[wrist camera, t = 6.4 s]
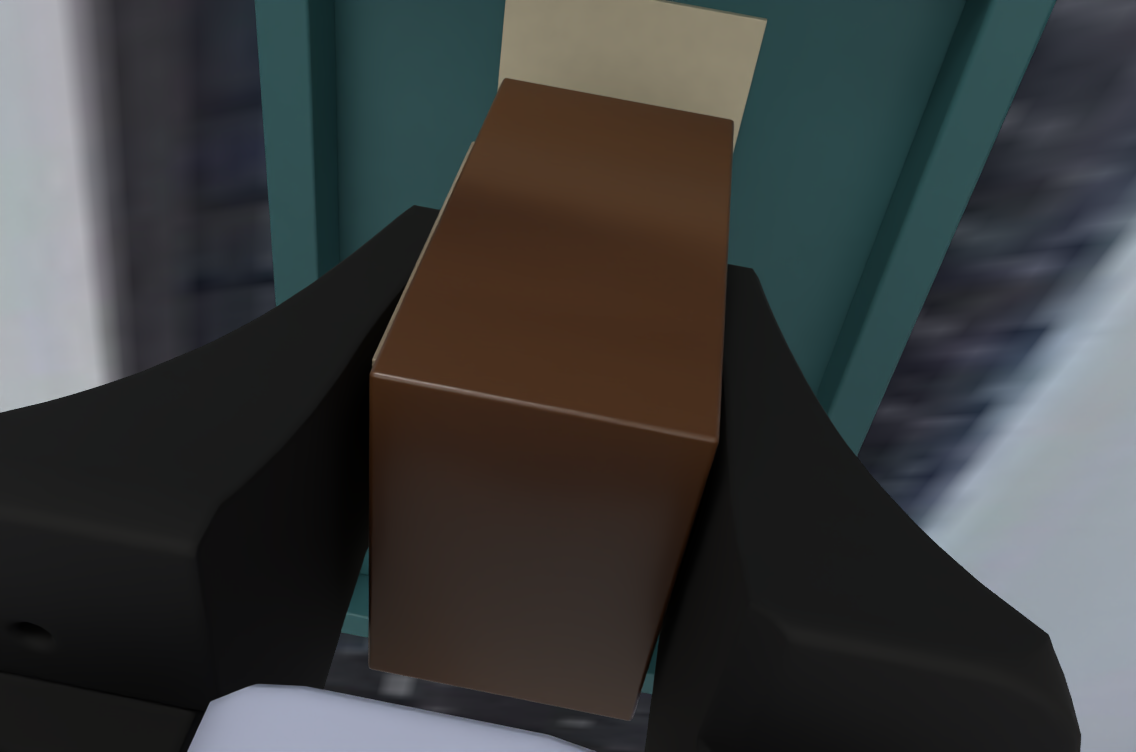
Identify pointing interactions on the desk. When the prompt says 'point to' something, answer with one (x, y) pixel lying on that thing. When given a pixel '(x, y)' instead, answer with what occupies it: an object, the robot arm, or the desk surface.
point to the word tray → (759, 168)
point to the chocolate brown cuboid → (551, 401)
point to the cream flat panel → (635, 52)
